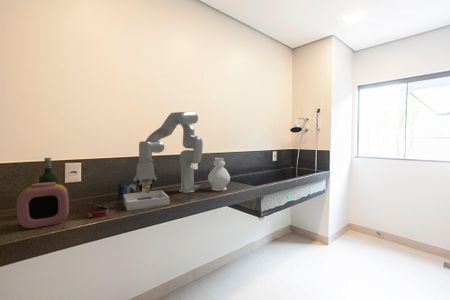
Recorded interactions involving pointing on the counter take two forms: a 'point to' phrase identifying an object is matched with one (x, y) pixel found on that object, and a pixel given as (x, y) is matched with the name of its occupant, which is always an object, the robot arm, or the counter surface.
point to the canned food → (97, 211)
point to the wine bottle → (48, 173)
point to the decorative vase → (219, 175)
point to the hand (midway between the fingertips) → (145, 190)
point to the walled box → (145, 200)
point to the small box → (126, 189)
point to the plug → (145, 186)
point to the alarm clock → (42, 205)
